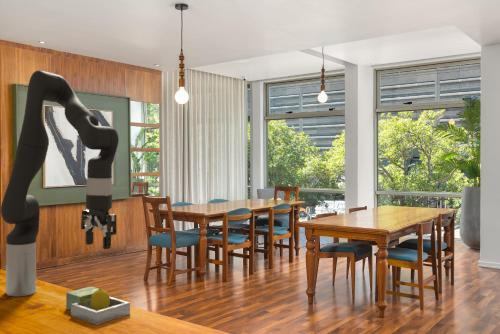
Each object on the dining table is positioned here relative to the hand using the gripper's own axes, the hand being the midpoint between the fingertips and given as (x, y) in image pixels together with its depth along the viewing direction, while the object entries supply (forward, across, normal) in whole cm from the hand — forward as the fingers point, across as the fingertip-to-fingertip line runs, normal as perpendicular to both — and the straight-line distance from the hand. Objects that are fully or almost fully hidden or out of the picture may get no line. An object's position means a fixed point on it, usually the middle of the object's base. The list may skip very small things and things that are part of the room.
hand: (97, 246), depth 154 cm
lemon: (+20, +3, -1) cm, 20 cm away
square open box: (+20, -1, -1) cm, 20 cm away
